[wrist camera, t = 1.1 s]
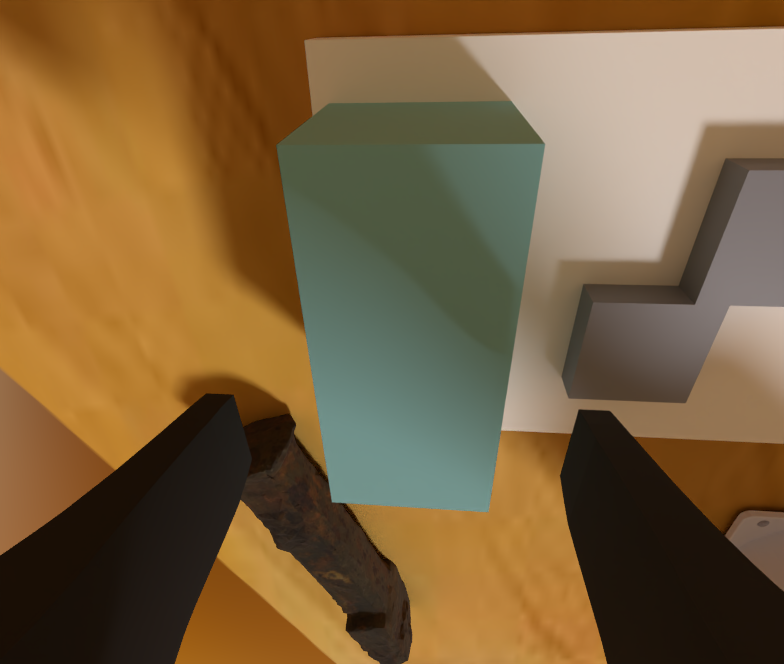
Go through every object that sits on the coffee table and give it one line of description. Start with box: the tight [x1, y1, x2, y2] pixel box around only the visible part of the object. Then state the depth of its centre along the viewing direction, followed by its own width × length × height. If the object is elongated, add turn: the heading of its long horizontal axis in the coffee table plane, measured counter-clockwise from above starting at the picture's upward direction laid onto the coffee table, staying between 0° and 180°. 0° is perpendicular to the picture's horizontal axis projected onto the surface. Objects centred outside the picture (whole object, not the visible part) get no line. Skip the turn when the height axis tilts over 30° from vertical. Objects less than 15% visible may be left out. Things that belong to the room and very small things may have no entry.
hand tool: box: [240, 415, 412, 664], centre depth 26 cm, size 19×4×5 cm, turn 21°
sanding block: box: [276, 101, 545, 512], centre depth 14 cm, size 5×11×5 cm, turn 1°
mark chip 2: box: [679, 158, 784, 307], centre depth 13 cm, size 4×4×1 cm
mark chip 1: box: [561, 284, 729, 403], centre depth 16 cm, size 4×4×1 cm
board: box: [304, 26, 784, 444], centre depth 16 cm, size 18×14×2 cm
